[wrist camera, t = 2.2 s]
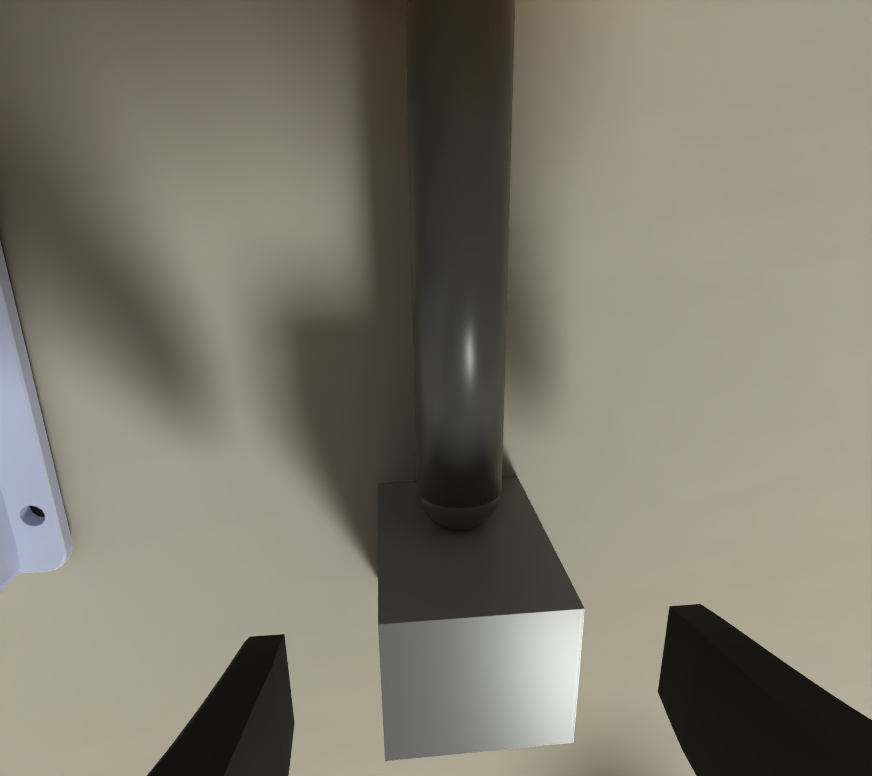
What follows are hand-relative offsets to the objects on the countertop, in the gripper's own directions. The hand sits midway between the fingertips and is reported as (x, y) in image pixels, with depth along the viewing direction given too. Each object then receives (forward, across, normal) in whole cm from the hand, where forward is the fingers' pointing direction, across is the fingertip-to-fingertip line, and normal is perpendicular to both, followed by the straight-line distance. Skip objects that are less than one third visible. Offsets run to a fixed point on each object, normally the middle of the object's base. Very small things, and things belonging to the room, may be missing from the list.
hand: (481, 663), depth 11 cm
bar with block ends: (+4, 0, -8) cm, 9 cm away
